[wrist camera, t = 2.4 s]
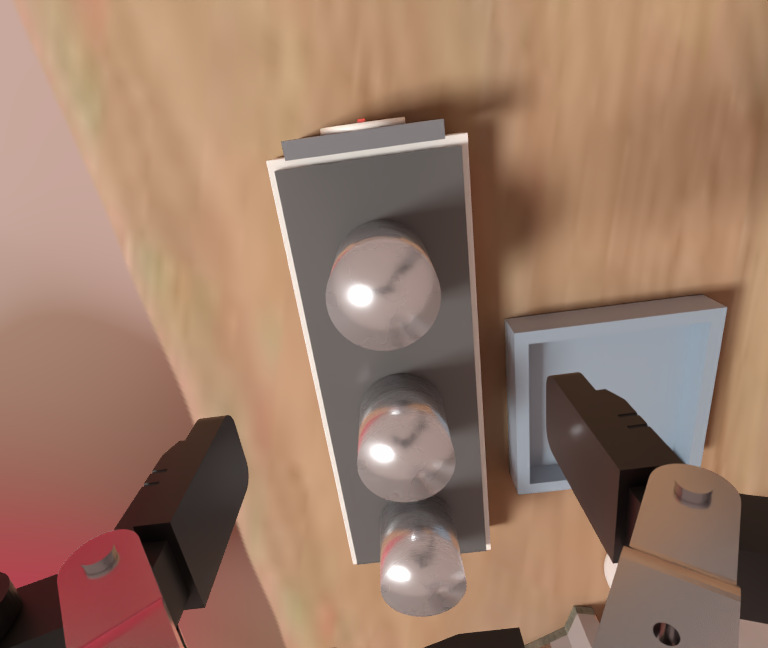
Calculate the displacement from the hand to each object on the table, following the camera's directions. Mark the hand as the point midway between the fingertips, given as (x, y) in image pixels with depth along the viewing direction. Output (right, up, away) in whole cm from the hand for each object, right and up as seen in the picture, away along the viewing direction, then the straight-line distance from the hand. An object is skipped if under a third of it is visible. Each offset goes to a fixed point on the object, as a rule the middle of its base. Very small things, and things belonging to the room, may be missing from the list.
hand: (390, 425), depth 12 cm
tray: (+14, -2, +19) cm, 24 cm away
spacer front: (0, +6, +13) cm, 14 cm away
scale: (+1, -1, +18) cm, 18 cm away
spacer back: (+2, -11, +20) cm, 23 cm away
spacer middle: (+1, -3, +16) cm, 17 cm away
